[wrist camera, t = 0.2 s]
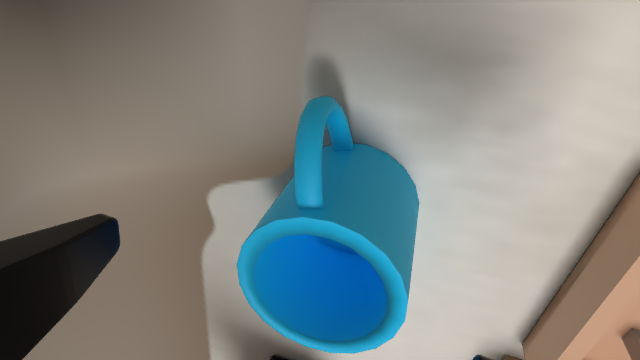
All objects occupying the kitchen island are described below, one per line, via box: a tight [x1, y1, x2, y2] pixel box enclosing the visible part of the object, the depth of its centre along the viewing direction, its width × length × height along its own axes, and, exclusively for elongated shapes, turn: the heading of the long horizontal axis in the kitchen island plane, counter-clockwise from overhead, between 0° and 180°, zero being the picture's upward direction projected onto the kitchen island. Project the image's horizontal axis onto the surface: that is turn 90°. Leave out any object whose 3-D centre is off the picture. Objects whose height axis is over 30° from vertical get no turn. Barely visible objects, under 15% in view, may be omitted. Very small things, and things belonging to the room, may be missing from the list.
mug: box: [237, 96, 419, 353], centre depth 20 cm, size 12×8×8 cm
